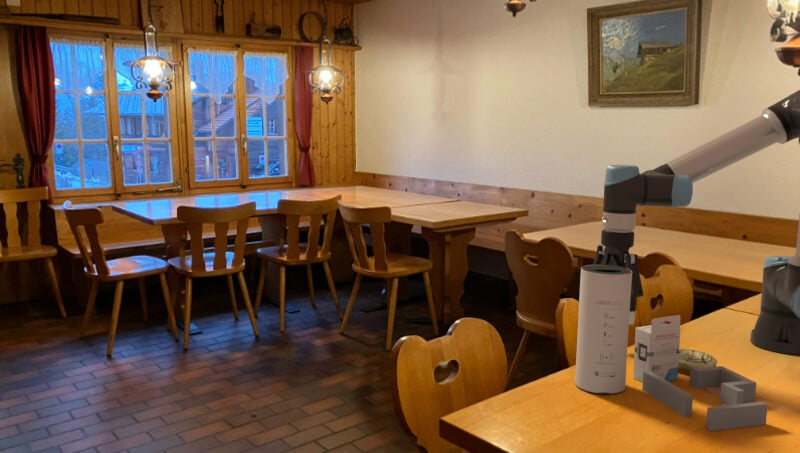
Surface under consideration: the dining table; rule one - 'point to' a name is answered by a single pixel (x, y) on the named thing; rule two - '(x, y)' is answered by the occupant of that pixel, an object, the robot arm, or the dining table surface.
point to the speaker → (603, 329)
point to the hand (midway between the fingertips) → (612, 316)
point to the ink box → (658, 348)
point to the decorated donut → (694, 360)
